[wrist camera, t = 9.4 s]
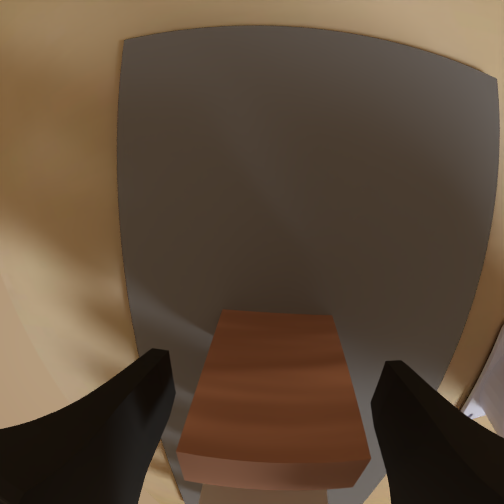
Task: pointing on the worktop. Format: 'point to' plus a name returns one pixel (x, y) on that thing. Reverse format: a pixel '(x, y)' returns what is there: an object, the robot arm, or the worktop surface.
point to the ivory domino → (259, 496)
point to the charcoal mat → (303, 199)
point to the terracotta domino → (274, 407)
